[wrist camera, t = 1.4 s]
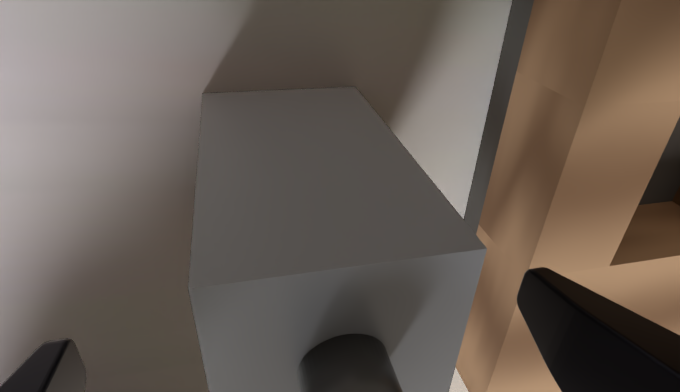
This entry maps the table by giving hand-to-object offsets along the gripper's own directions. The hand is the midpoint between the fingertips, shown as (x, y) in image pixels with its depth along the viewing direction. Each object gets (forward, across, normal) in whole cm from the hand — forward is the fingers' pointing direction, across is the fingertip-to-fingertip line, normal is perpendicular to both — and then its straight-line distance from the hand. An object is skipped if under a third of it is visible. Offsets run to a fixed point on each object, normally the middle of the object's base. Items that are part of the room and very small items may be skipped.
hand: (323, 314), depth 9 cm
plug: (+7, 0, 0) cm, 7 cm away
